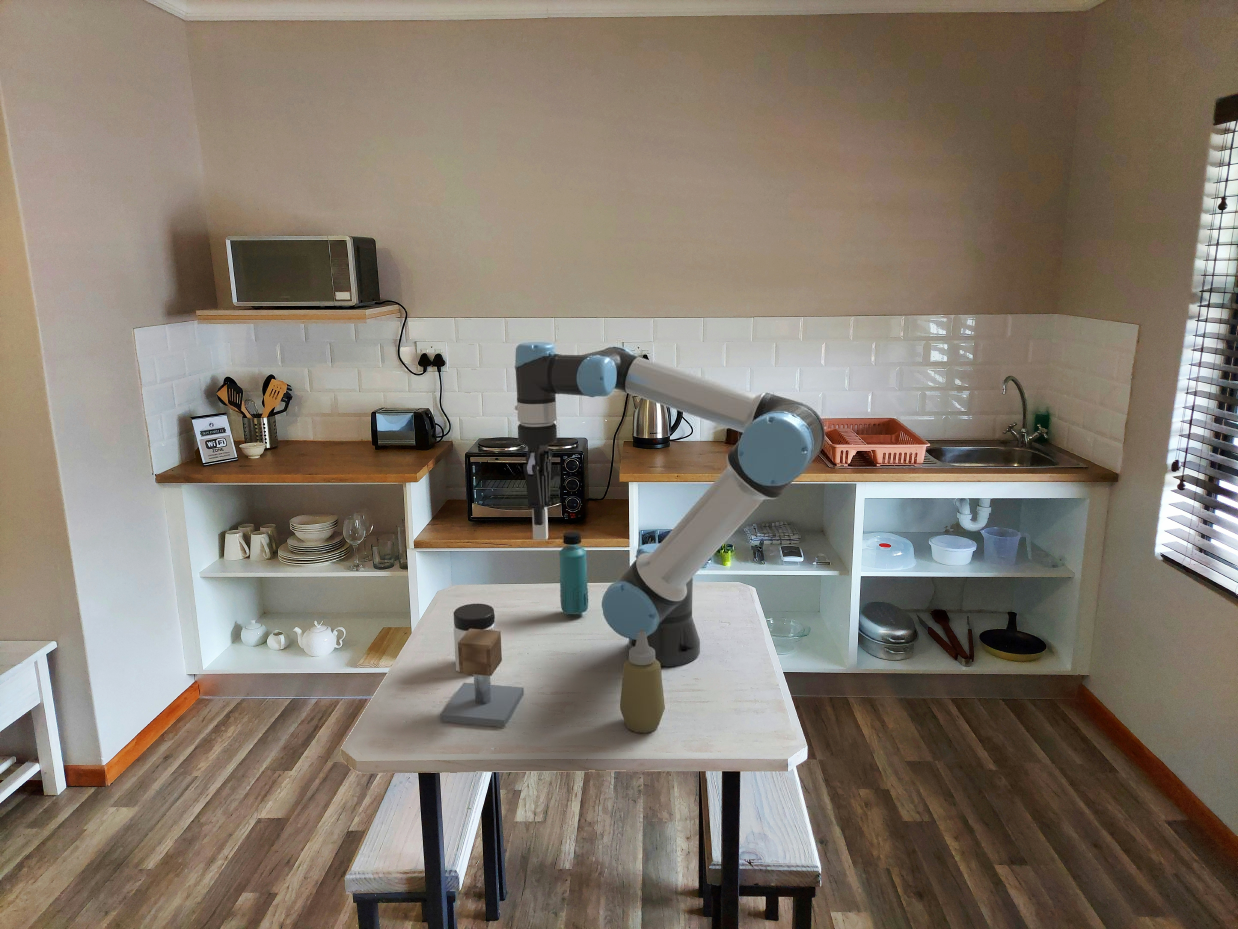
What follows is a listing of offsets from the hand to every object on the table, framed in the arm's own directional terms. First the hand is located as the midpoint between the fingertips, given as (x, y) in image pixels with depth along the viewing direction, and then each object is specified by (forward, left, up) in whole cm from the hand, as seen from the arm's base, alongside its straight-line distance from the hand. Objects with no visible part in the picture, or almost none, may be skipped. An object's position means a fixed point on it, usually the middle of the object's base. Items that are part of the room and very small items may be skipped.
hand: (540, 538), depth 173 cm
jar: (+13, +5, -27) cm, 30 cm away
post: (+6, +21, -25) cm, 33 cm away
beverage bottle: (-1, -23, -27) cm, 35 cm away
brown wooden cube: (+6, +21, -18) cm, 28 cm away
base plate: (+6, +21, -26) cm, 34 cm away
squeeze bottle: (-24, +22, -27) cm, 42 cm away
